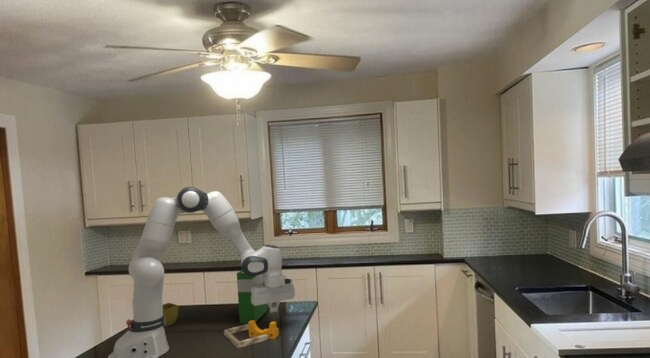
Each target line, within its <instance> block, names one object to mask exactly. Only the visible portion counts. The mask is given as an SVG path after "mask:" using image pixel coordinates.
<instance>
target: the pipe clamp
mask: <svg viewBox="0 0 650 358" xmlns="http://www.w3.org/2000/svg"><path fill="white" fill-rule="evenodd" d="M247 324H248V325H249V330H248V336H249V338H254V337H257V336H261V335H265V334H267V335H268V340H269V339H270V340H272V339H273V340H275V339H276V338H278V336H279V327H277V321H271V322H270V323H269V326H268V328H264V329H261V328H259V326H258V325H257V323H255V320H251V321H250V322H248V323H247Z"/></svg>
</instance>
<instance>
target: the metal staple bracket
mask: <svg viewBox="0 0 650 358" xmlns="http://www.w3.org/2000/svg"><path fill="white" fill-rule="evenodd" d="M244 331H249V325H248V323H245V324H241V325H238V326H235V327H234V326H233V327H231V328H226V329H223V335H224V337H226V338H227V340H229V341H230V343H231V344H232V345H233V346H234V347H235V348H236V349H240V348H243V347H247V346H251V345H254V344H255V345H256V344H258V343H262V342H265V341H268V340H269V338H268V335H267V334H265V335H261V336H257V337H249V338H246V339H243V340H239V339H238V338H236V337H235V335H233V334H236V333H240V332H244Z"/></svg>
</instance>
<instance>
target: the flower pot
mask: <svg viewBox="0 0 650 358" xmlns="http://www.w3.org/2000/svg"><path fill="white" fill-rule="evenodd" d="M163 314H164V317H165V328H167V327H169V326H172V325H174V324H175V323H176V321H177V319H178V317H179V316H178V315H179V305H178V304H175V303H172V302H166V303H164V304H163Z"/></svg>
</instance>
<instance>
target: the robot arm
mask: <svg viewBox="0 0 650 358" xmlns="http://www.w3.org/2000/svg"><path fill="white" fill-rule="evenodd" d="M199 211H201V212H203V213H204V214H205V216H206V217H207V218H208V220H209V221H210V223H211V225H212V226H213V227H214V229H215V230H216V231H217V232H218V233H219V234H220V235H222V236H224V237H225V238H227V239H228V240H229V241H230V242H231V244H232V245H233V247H234V248H235V250H236V251H237V253H238V255H239V258H240V265H241V270H243V272H244V273H245V274H246V275H248V276H256V275H260V274H263V283H259V284H254V285H253V286H254V287H253V286H252V287H251V303H252V304H253V305H254V306H257V305H263V304H267V307H268V308H269V311H270V313H271V314H272V313H277V312H278V307H279V306H280V302H282V301H286V300H293V299H294V298H295V296H296V293H295V285H294V284H293V282H294V281H293V280H294V279H293V278H291V277H289V276H286V275H283V271H282V266H283V258H282V250H281V248H280V247H279V246H277V245H275V244H264V245H263V246H262V247H261V248H259V249H257V250H256V249H254V248H253V247H252V246H251V245H250V243H249V241H248V239H247V238H246V237H245V235H244V233H243V231H242V229H241V224H240V220H239V218H238V216H237V213H236V211H235V209H234V208H233V206H232V205H231V204H230V202H229V200H228V199H227V198H226V197H225V196H224V194H222V193H221V192H220V191H217V190H213V191H210V192H208V193H206V192H204V191H203V190H201V189H199V188H197V187H195V186H187V187H183V188H182V189H181V190H179V191H178V192H177V194H176V195H175V196H174V197H167V196H165V197H164V196H162V197H159V198H157V199H156V200H155V202H154V203H153V205H152V207H151V209H150V211H149V214H148V216H147V219H146V222H145V225H144V228H143V231H142V234H141V237H140V239H139V242H138V244H137V246H136V248H135V250H134V253H133V255H132V257H131V259H130V262H129V265H128V273H129V276H130V277H131V278H132V280H133V293H132V295H133V296H132V314H133V315H132V316H133V317H132V318H133V319H127V320H126V322H125V323H126V326H127V328H128V330H127V331H126V332H125V333H124V334H123V335H121V336H120V337H119V338H118V339H117V340H116V341H115V343H114V345H113V350H112V351H113V352H111V353H110V354H109V355H108V356H107V358H159V357H161V356H162V355H164V354H165V353H168V351H169V350H170V346H169V344H168V340H167V337H166V336H167V335H166V332H165V331H166V330H165V328H166V327H165V317H164V314H163V290H164V277H165V268H164V265H163V264H162V262H161V260H162V257H163V256H164V254H165V251H166V250H167V248H168V247H169V245H170V242H171V239H172V237H173V231H174V229H175V225H176V222H177V219H178V217H179V215H180V214H184V213H185V214H194V213H196V212H199ZM273 303H275V304H274V306H273Z"/></svg>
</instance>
